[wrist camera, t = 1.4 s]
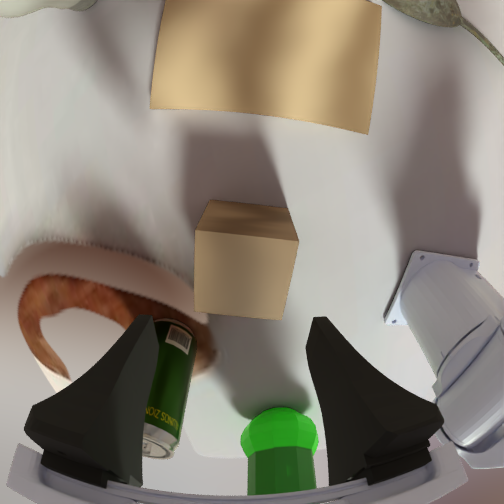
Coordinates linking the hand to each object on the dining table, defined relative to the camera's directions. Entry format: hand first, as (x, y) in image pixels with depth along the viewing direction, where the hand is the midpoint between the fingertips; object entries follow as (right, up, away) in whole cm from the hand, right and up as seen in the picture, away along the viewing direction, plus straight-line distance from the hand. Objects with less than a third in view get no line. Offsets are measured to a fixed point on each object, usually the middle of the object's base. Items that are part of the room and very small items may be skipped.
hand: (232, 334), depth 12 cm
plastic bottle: (+4, -18, +21) cm, 28 cm away
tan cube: (0, +5, +9) cm, 10 cm away
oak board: (+2, +17, +2) cm, 17 cm away
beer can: (-7, -4, +14) cm, 16 cm away
